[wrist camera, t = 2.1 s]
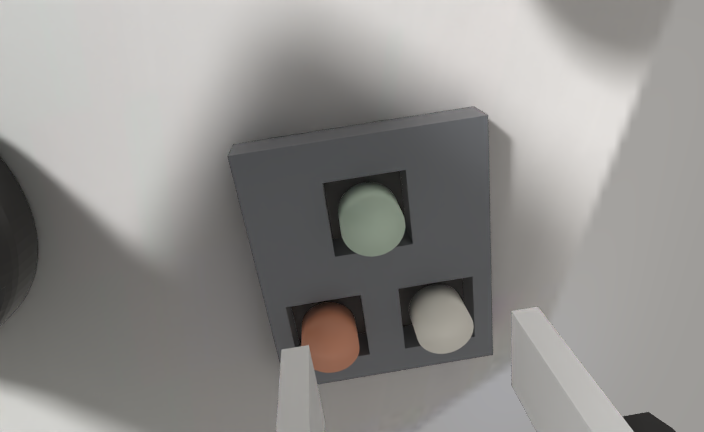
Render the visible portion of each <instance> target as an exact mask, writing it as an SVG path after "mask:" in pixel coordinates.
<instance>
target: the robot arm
mask: <svg viewBox="0 0 704 432" xmlns="http://www.w3.org/2000/svg"><path fill="white" fill-rule="evenodd" d="M37 256H38V245H37V235H36V228H35V224H34V220H33V217H32V213H31V210H30V208H29V205H28V203H27V200H26V198H25V196H24V194H23V192H22V190H21V188H20V186H19V184H18V183H17V181H16V179H15V177H14V176H13V174H12V173H11V171H10V170H9V169H8V167H7V166H6V164H5V163H4V162H3V161H2V159H1V158H0V326H1V325H2V324H3V323H4V322H5V321H6V320H7V319H8V318H9V317H10V316H11V314H12V313H13V312H14V311H15V310H16V309H17V308H18V307H19V305H20V304H21V303H22V301H23V300H24V298H25V296H26V295H27V293H28V291H29V289H30V287H31V284H32V281H33V278H34V275H35V271H36V265H37ZM511 377H512V379H511V381H512V382H511V385H512V387H513V389H514V391H515V393H516V395H517V396H518V398H519V400H520V402H521V404H522V406H523V408H524V410H525V412H526V413H527V415H528V417H529V419H530V421H531V423H532V424H533V426H534V428H535V430H536V432H675V431H674V430H673V429H672V428H671V427H670V426H668V425H666V424H665V423H664V422H662V421H661V420H659V419H658V418H656V417H655V416H653V415H652V414H651V413H649V412H646V413H640V414H635V415H629V416H624V417H622V416H621V414H620V413H619V412H618V410H617V409H616V408H615V407H614V405H613V404H612V403H611V401H610V400H609V399H608V397H607V396H606V395H605V393H604V392H603V391H602V390H601V388H600V387H599V386H598V384H597V383H596V382H595V380H594V379H593V378H592V377H591V375H590V374H589V372H588V371H587V370H586V369H585V367H584V366H583V365H582V363H581V362H580V361H579V359H578V358H577V357H576V356H575V354H574V353H573V352H572V350H571V349H570V348H569V346H568V345H567V344H566V342H565V341H564V340H563V338H562V337H561V336H560V335H559V333H558V332H557V331H556V329H555V328H554V327H553V325H552V324H551V323H550V321H549V320H548V319H547V318H546V316H545V315H544V314H543V312H542V311H541V310H540V308H539V307H532V308H526V309H520V310H514V311H511ZM276 432H325V417H324V413H323V408H322V404H321V399H320V394H319V390H318V385H317V381H316V376H315V371H314V367H313V362H312V358H311V353H310V349H309V345H306V346H300V347H294V348H288V349H282V350H281V363H280V377H279V392H278V406H277V420H276Z"/></svg>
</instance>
